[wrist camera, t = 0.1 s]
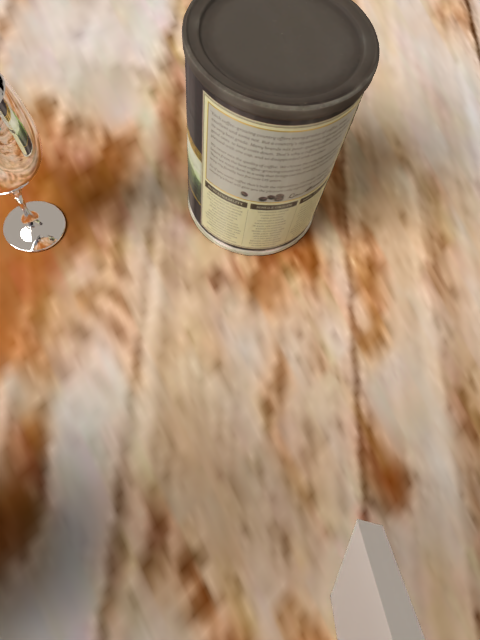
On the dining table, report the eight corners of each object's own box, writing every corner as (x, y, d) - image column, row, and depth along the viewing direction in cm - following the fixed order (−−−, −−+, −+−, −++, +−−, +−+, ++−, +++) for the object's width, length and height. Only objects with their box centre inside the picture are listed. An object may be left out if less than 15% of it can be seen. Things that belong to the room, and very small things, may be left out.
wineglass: (39, 274, 32) (-42, 154, 21) (-24, 234, 33) (-135, 98, 22) (91, 218, 34) (41, 82, 23) (30, 182, 35) (-45, 33, 24)
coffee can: (161, 186, 36) (141, 7, 23) (261, 133, 39) (294, -52, 26) (239, 281, 34) (267, 140, 20) (340, 216, 37) (420, 57, 24)
